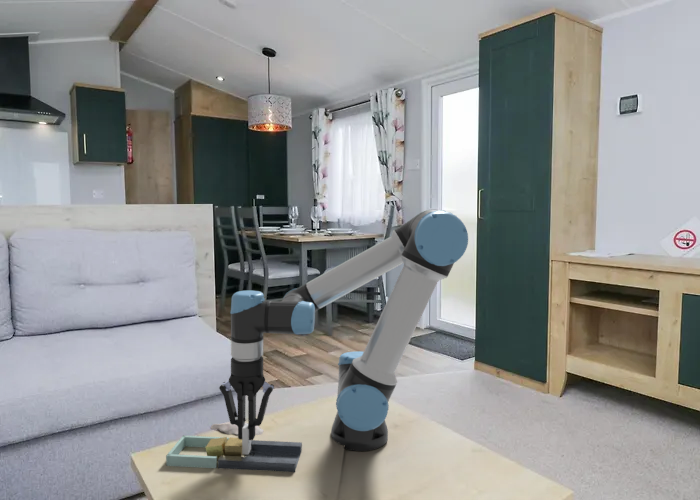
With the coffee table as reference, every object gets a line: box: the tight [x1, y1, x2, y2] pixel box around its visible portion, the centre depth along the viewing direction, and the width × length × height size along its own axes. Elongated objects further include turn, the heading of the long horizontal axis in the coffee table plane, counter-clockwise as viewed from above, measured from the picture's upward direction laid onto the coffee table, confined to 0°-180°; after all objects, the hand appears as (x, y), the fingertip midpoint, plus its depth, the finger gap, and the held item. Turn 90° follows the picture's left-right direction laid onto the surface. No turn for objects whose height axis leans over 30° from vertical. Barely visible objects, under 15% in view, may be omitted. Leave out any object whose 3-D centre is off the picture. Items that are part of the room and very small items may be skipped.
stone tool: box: [210, 421, 264, 437], centre depth 136 cm, size 8×3×15 cm
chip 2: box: [225, 437, 245, 457], centre depth 121 cm, size 4×4×4 cm
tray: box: [165, 435, 230, 469], centre depth 122 cm, size 12×10×3 cm
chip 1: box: [204, 436, 228, 462], centre depth 121 cm, size 4×4×4 cm
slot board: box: [217, 439, 303, 473], centre depth 121 cm, size 18×10×3 cm, turn 86°
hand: (246, 451), depth 121 cm, fingers closed
